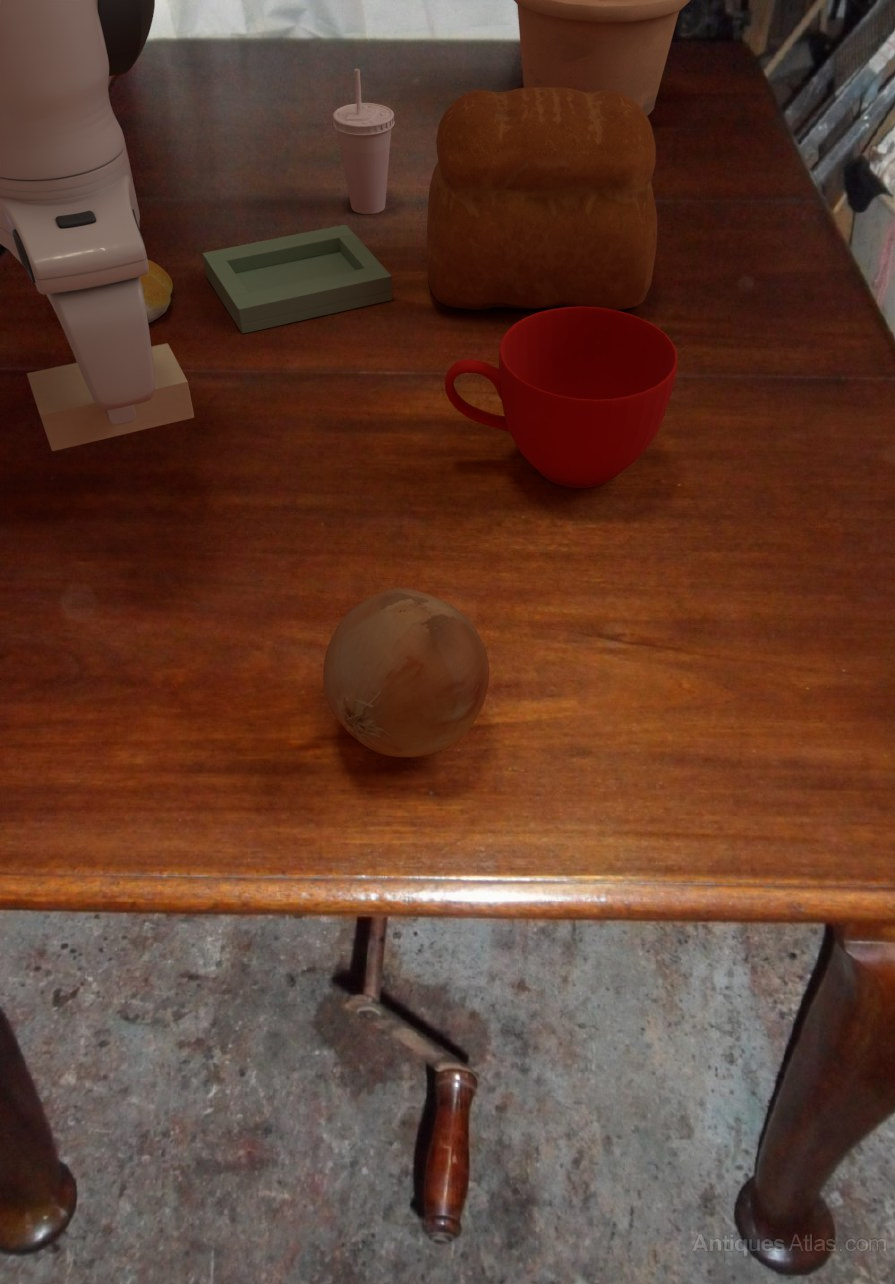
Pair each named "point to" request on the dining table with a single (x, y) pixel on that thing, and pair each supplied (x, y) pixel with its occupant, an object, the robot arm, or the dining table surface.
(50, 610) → the dining table surface
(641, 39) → the pottery
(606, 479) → the ceramic cup
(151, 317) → the bread roll
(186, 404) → the cream pad
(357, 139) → the smoothie
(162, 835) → the dining table surface
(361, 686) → the mottled brown ball
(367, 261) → the base pad
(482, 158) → the bread
